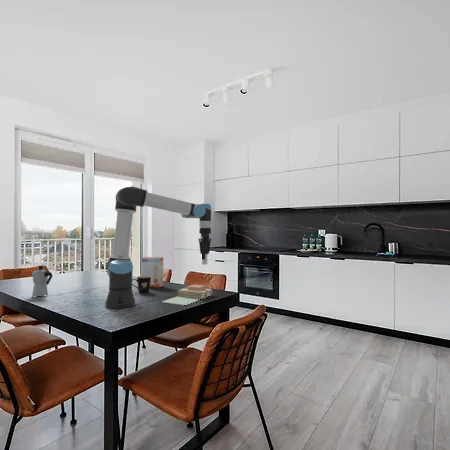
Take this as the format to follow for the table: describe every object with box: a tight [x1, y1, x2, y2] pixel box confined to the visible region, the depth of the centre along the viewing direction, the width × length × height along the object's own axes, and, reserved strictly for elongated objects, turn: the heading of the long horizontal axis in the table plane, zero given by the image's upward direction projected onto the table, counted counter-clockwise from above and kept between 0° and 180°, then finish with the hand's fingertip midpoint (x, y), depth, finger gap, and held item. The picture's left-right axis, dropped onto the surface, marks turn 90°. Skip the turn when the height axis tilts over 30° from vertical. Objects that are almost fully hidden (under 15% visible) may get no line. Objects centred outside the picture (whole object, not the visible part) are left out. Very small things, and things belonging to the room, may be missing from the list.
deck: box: [177, 287, 213, 300], centre depth 183 cm, size 14×16×4 cm
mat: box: [161, 295, 201, 306], centre depth 170 cm, size 15×16×1 cm
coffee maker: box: [31, 265, 53, 297], centre depth 179 cm, size 15×9×18 cm, turn 73°
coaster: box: [186, 284, 206, 291], centre depth 184 cm, size 8×8×2 cm
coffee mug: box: [132, 275, 151, 294], centre depth 193 cm, size 12×9×10 cm
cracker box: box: [141, 256, 164, 288], centre depth 213 cm, size 14×6×21 cm, turn 74°
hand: (204, 264), depth 194 cm, fingers closed
